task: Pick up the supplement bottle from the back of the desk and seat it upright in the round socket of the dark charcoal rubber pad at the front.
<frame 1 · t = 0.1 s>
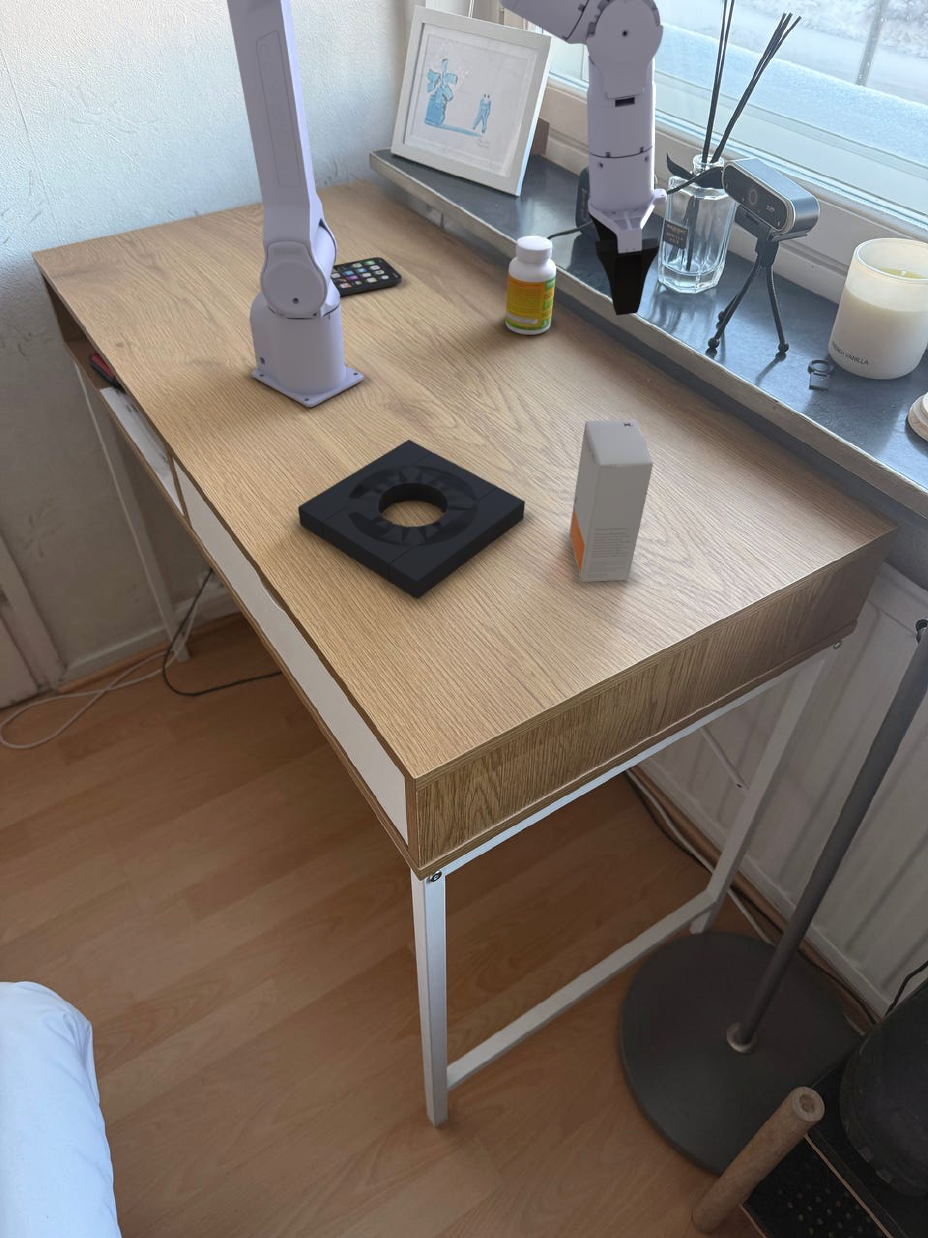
hand: (622, 294, 86), 11 cm above the table, tool pointing down, fingers open, 7 cm apart
socket pad: (412, 521, 77), on the table
cosmetic box: (597, 560, 74), on the table
supplement bottle: (527, 326, 103), on the table
smartphone: (338, 284, 109), on the table
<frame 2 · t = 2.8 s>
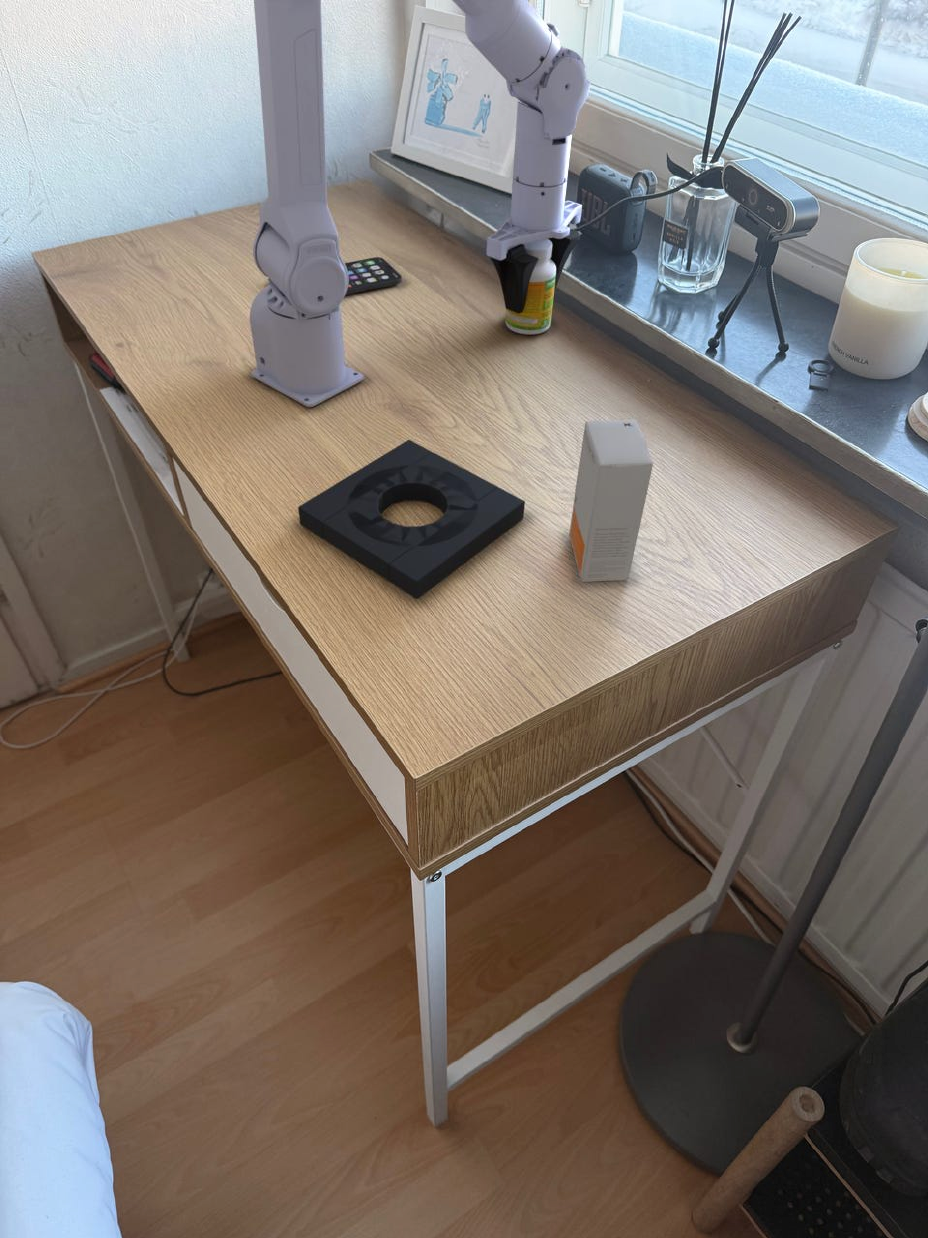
hand: (529, 301, 101), 3 cm above the table, tool pointing down, fingers closed on supplement bottle, 5 cm apart
supplement bottle: (527, 326, 103), on the table, touching gripper
everything else where it was.
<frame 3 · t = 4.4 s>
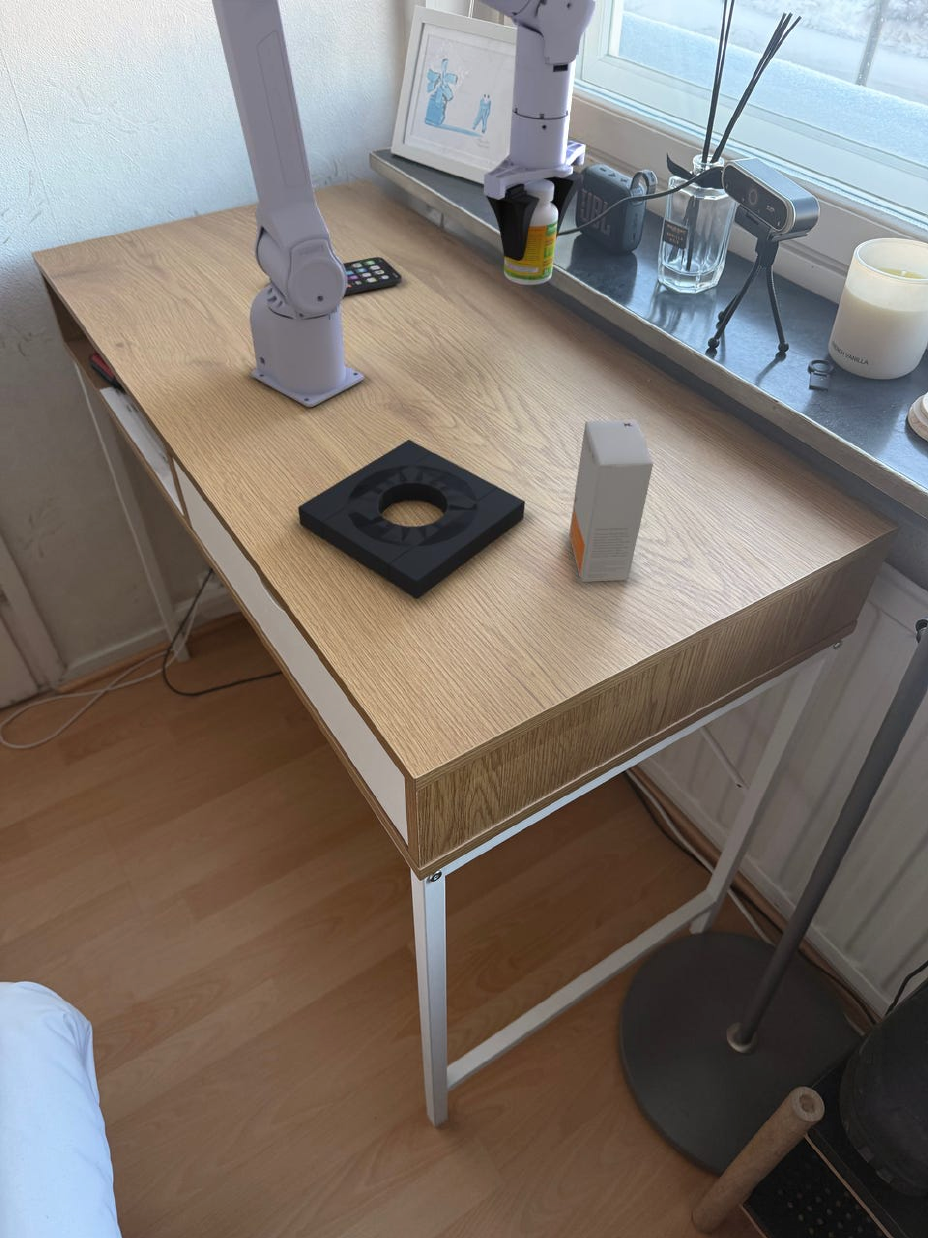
hand: (529, 249, 95), 10 cm above the table, tool pointing down, fingers closed on supplement bottle, 5 cm apart
supplement bottle: (527, 277, 97), point 7 cm above the table, touching gripper
everything else where it was.
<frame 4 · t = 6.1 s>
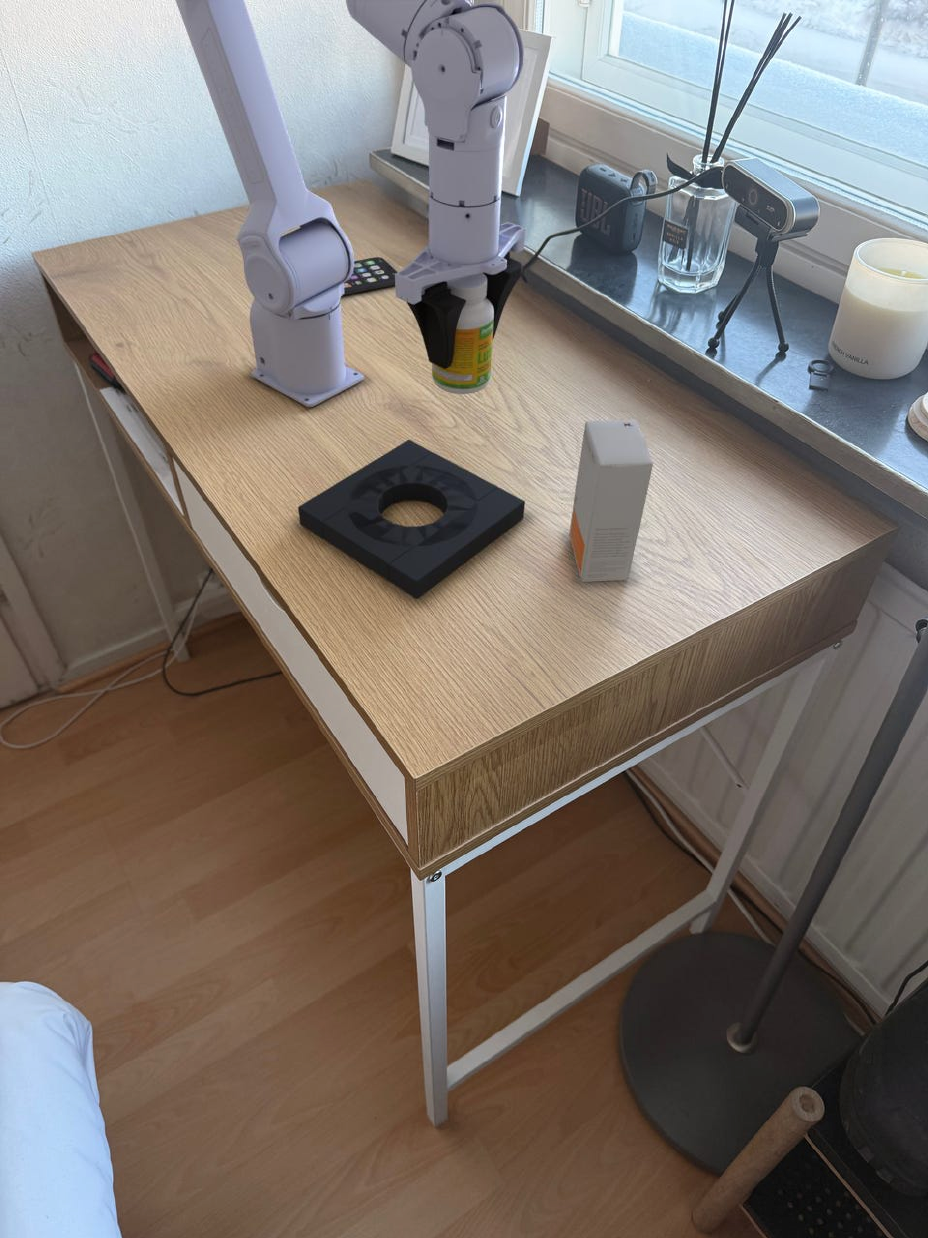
hand: (460, 351, 78), 10 cm above the table, tool pointing down, fingers closed on supplement bottle, 5 cm apart
supplement bottle: (461, 382, 80), point 7 cm above the table, touching gripper
everything else where it was.
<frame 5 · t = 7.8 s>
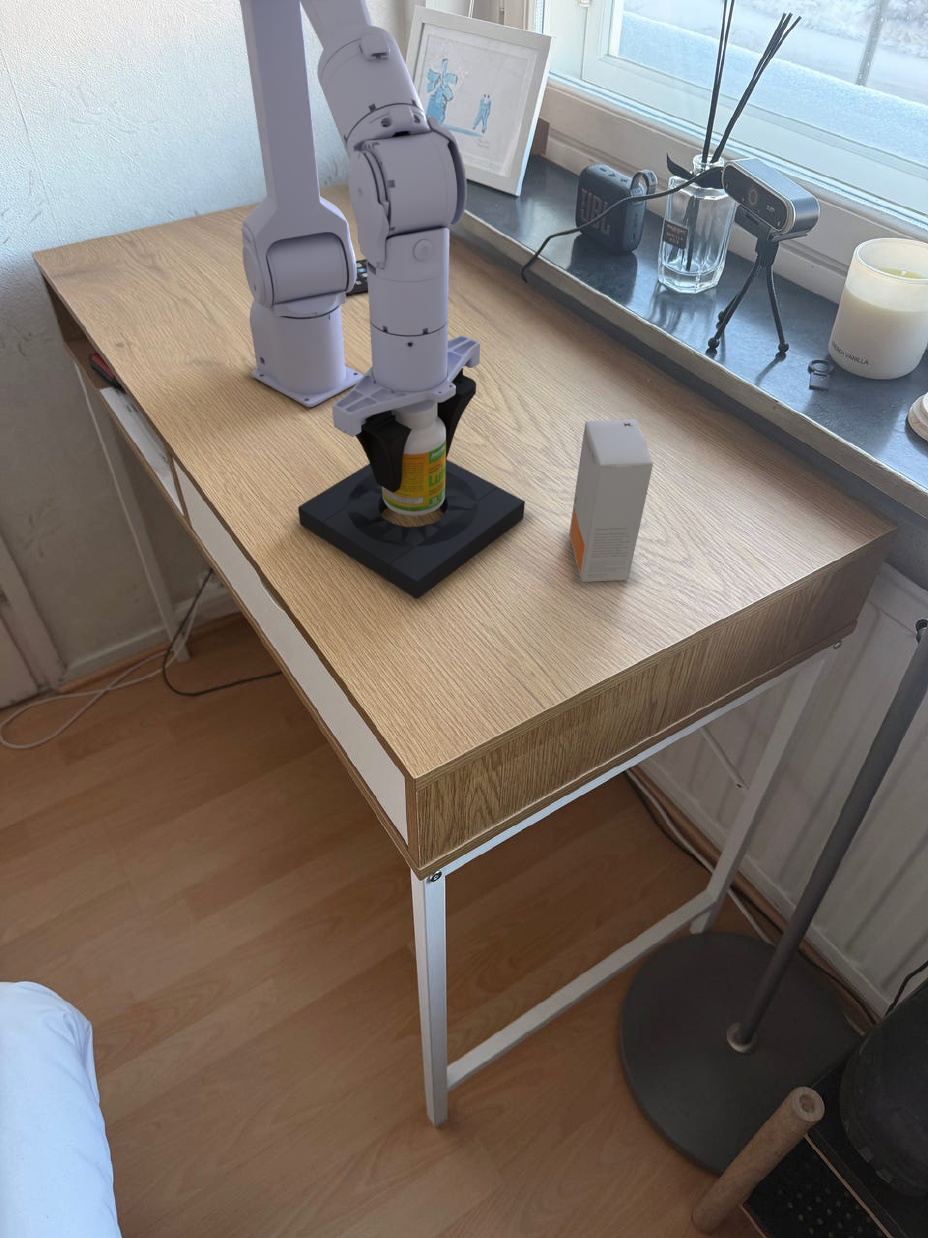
hand: (411, 470, 73), 6 cm above the table, tool pointing down, fingers closed on supplement bottle, 5 cm apart
supplement bottle: (413, 500, 75), point 2 cm above the table, touching gripper
everything else where it was.
when the fingers open (3 cm above the table, at t = 9.3 s): supplement bottle stays where it is, resting in socket pad.
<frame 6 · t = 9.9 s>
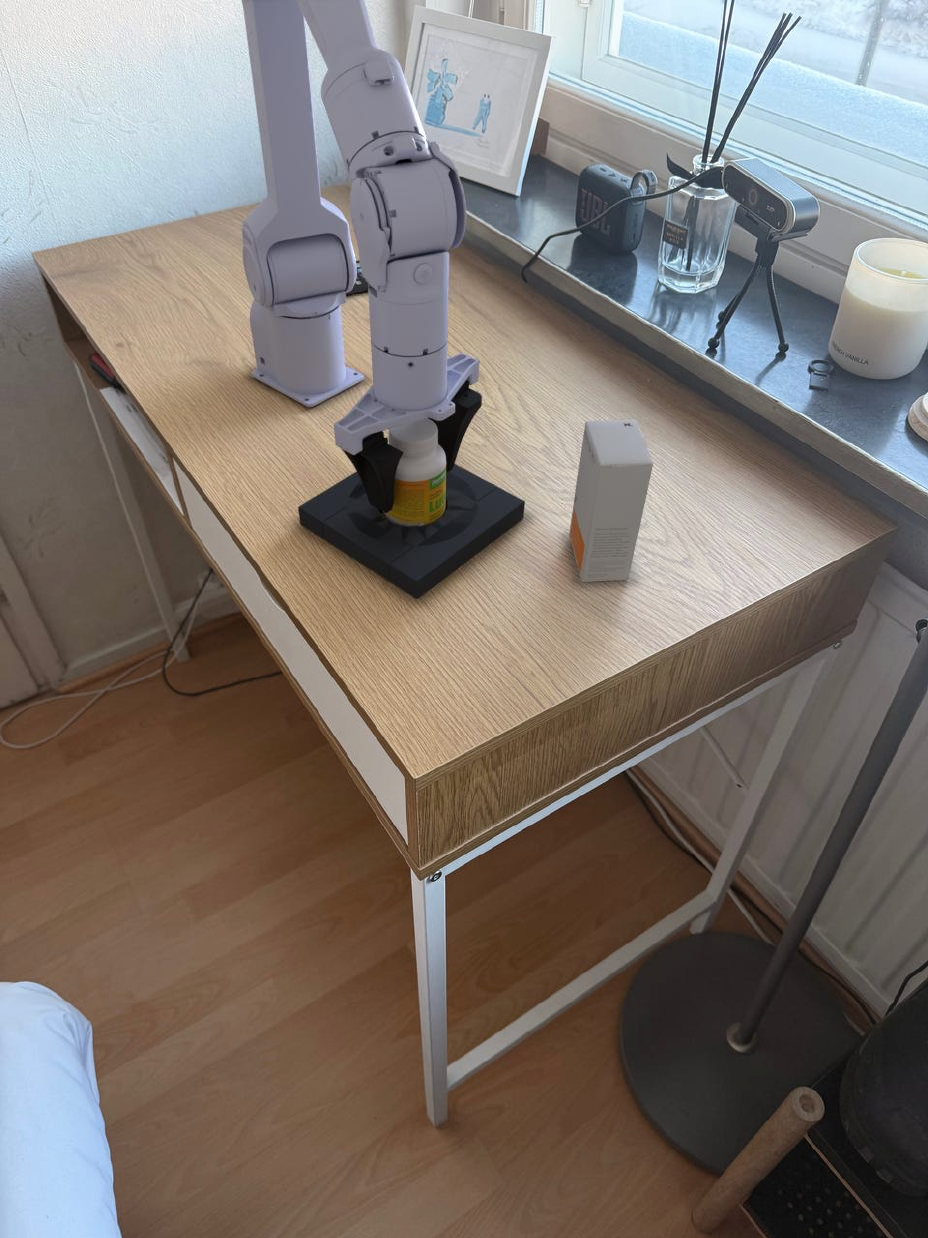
hand: (412, 485, 74), 4 cm above the table, tool pointing down, fingers open, 7 cm apart
supplement bottle: (414, 524, 77), resting in socket pad
everything else where it was.
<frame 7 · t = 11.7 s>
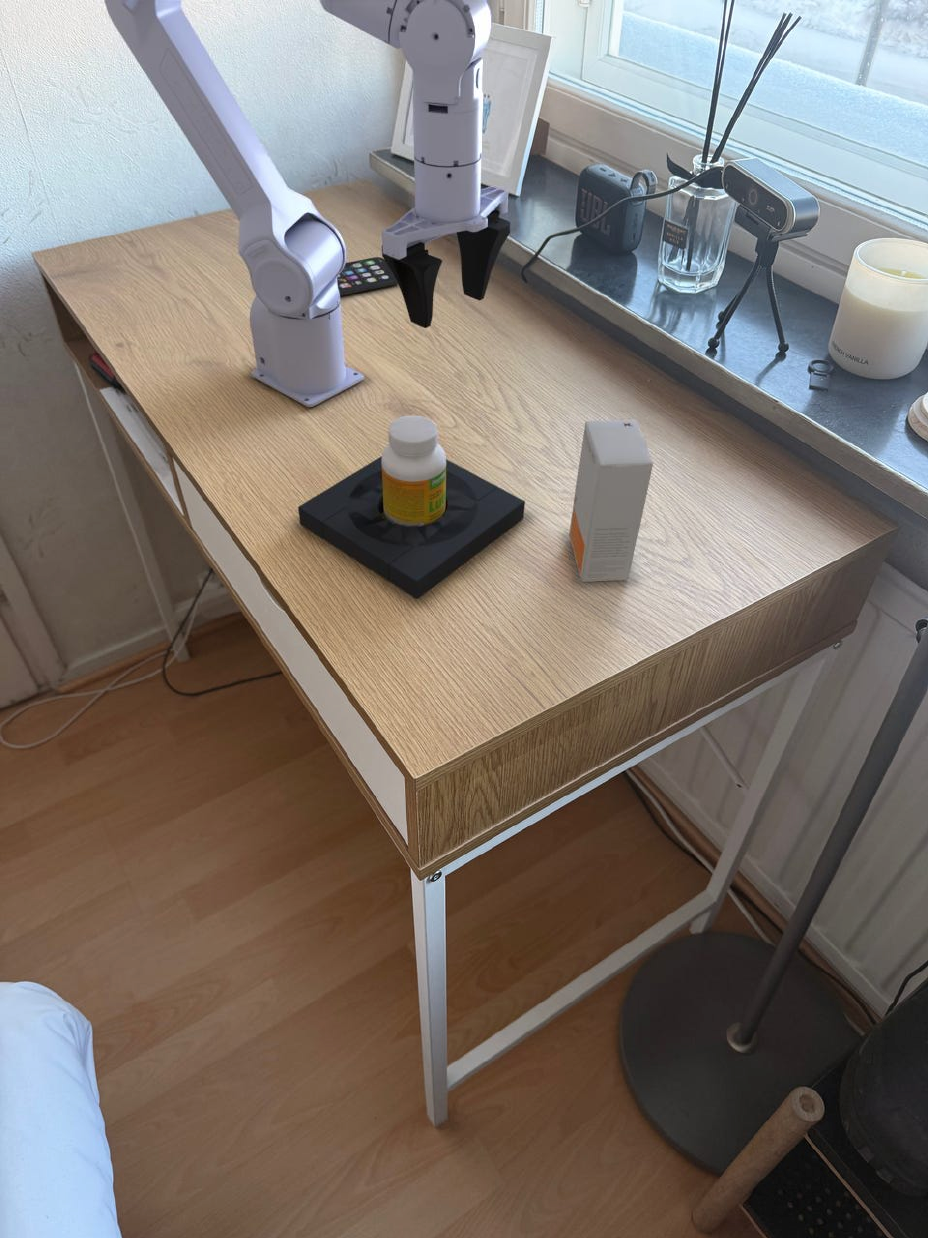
hand: (447, 309, 83), 10 cm above the table, tool pointing down, fingers open, 7 cm apart
nothing on the table moved.
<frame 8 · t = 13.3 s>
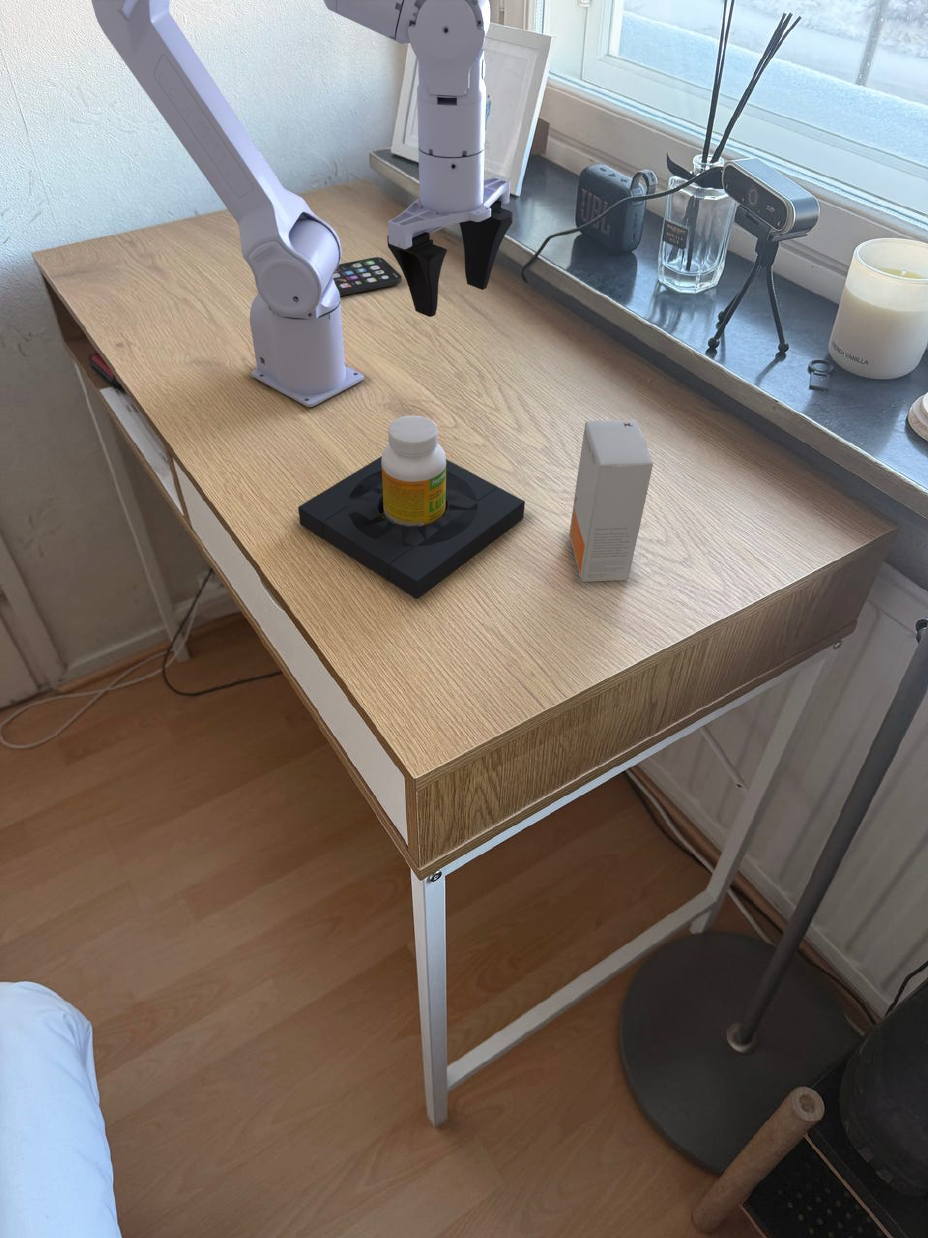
hand: (451, 299, 84), 10 cm above the table, tool pointing down, fingers open, 7 cm apart
nothing on the table moved.
at the end: supplement bottle 0.2 cm off-centre in the socket pad, point 0.0 cm above the socket pad's base; supplement bottle tilted 0° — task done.
